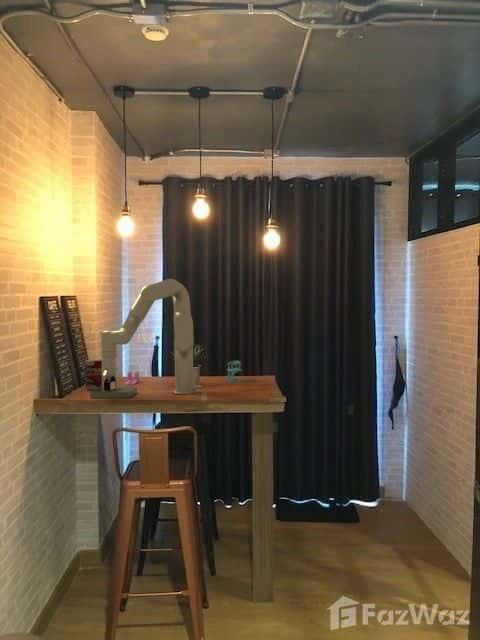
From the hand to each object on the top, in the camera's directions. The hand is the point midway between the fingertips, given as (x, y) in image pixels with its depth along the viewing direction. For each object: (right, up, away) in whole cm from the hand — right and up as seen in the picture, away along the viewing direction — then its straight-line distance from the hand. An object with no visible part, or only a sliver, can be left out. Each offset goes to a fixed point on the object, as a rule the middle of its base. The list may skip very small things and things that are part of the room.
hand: (110, 388), depth 265 cm
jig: (+2, -4, 0) cm, 4 cm away
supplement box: (-13, -3, +18) cm, 23 cm away
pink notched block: (+4, -2, +33) cm, 33 cm away
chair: (+64, -1, +37) cm, 74 cm away
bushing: (0, -4, 0) cm, 4 cm away
